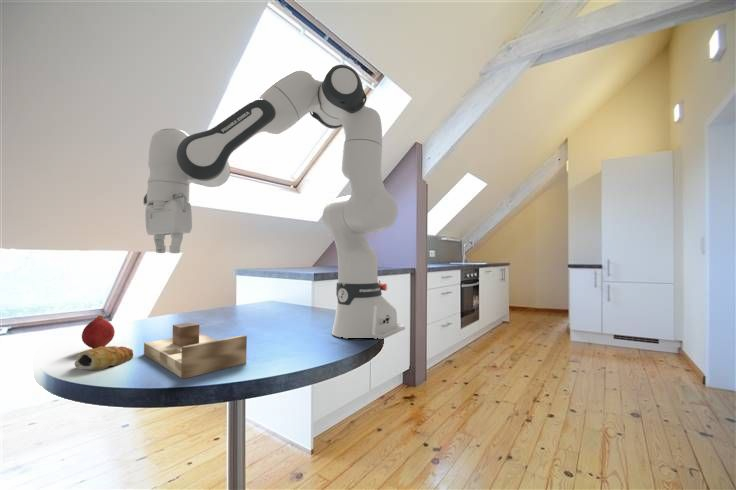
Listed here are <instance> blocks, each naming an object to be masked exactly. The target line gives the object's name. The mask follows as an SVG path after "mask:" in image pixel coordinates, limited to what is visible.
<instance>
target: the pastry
mask: <svg viewBox="0 0 736 490" xmlns="http://www.w3.org/2000/svg"><path fill="white" fill-rule="evenodd" d="M133 358H134V351H133V349H132V348H129V347H127V346H116V345H113V346H111V345H109V346H101V347H98V348H94V349H93V348H89V349H86V350H82V351H80V352H79V354H78V356H77V357H76V359H75V360H74V366H75V367H76V369H78V370H80V369H86V370H85V371H87V370H88V371H99V370H98V369H101V370H103V369H108V367H110V366H112V367H116V366H118V365H120V364H123V363H126V362H129V361H130V360H132V359H133ZM115 365H116V366H115Z"/></svg>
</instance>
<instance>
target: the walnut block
mask: <svg viewBox="0 0 736 490" xmlns="http://www.w3.org/2000/svg"><path fill="white" fill-rule="evenodd" d="M199 334H200V324H198V323H195V322H192V321H190V322H184V323H178V324H172V338H173V341H172V343H173V344H175V345H177V346H179V347H181V346H186V345H191V344H197V343H199Z"/></svg>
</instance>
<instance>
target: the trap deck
mask: <svg viewBox="0 0 736 490" xmlns="http://www.w3.org/2000/svg"><path fill="white" fill-rule="evenodd" d="M247 336H248V335H246V334H242V335H237V336H230V337H227V338H221V339H217V338H213V337H211V336H208V335H205V334H203V333H199V343H197V344H191V345H186V346H181V347H179V346H177V345H175V344H173V343H172V341H173V337H171V338H165V339H159V340H153V341H146V342H143V355H145V356H146V357H148V358H149V359H150V360H152V361H154V362H155V363H158V364H159V365H160V366H162V367H164V368H165V369H166V370H168V371H170V372H172V373H173V374H175V375H176V376H178V377H179V378H180V379H183V380H185V379H188V378H192V377H197V376H199V375H201V376H202V375H205V374H208V373H213V372H216V371H220V370H224V369H228V368H232V367H236V366H240V365H244V364H247V345H248V343H247V339H248V337H247Z"/></svg>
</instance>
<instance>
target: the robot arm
mask: <svg viewBox="0 0 736 490" xmlns="http://www.w3.org/2000/svg"><path fill="white" fill-rule="evenodd" d="M363 87H364V86H363V83H362V79H361V77H360V75H359V73H357V71H356V70H355V69H354V68H353V67H351V66H350V65H347V64H336V65H334V66H332V67H331V68H330V69H328V71H326V73H325V74H324V76H323V77H322V80H321V81H320V80H318V79H316V78H315V77H314V76H313V74H311V73H310V72H309V71H307V70H305V69H301V68H300V69H295V70H293V71H290V72H289V73H287V74H285V75H283V76H281V77H280V78H278V79H277V80H276V81H274V82H273V83H272V84H270V85H269V86H268V87H267V88H265V89H264V90H263V91H262V92H261V93H259V94H258V95H257V96H256V97H255V98H254V99H253V100H251V101H250V102H248V104H246V105H245V106H242V108H240V109H238V110H236V111H235V112H234V113H233V114H231V115H230V116H228V117H227V118H225V119H224V120H222V122H220V123H218V124H217V125H215V126H214V127H212V128H210V129H207V130H204V131H201V132H197V133H196V132H195V133H193V134H190V135H189V134H188V133H187V132H185V131H184V130H181V129H177V128H163V129H160V130H158V131H155V132H154V133H153V135H152V137H151V138H150V143H149V149H148V162H147V163H148V168H149V176H148V179H147V190H146V194H145V195H144V197H143V201H142V205H144V206H146V207H145V209H144V210H145V230H146V234H147V235H148V236H153V240H154V241H153V242H154V245H155V253H156V254H165V253H166V246H165V240H166V236H170V238H171V241H170V242H171V243H170V245H169V250H168V251H169V253H170V254H179V253H180V252H181V245H182V242H183V238H184V235H185V234H190V233H191V231H192V228H193V216H192V206H191V202H190V184H196V185H200V186H203V187H207V188H216V187H219V186H223V185H224V184H225V183H226V182H227V181H228V180H229V178H230V175H231V167H230V163H229V158H230V156H231V155H232V153H234V151H236V150H237V149H238V148H240V147H241V146H243V145H244V144H245V143H246V142H248V141H249V140H250V139H251V138H253V137H255V135H257V134H260V133H263V132H266V133H269V134H272V135H273V134H274V135H279V134H282V133H283V132H285V131H287V130H288V129H291V128H292V127H293V126H294V125H295V124H296V123H297V122H299V120H301V119H302V118H303V117H305V116H306V115H307V114H310V116H311V117H312V118H313V119H315V120H317V121H318V122H319V123H321V125H323V126H324V127H325V128H328V129H333V130H336V129H339V128H341V127H342V128H343V135H344V137H343V145H342V146H343V150H342V160H341V171H342V174H343V176H344V177H345V178H346V179H348V180H349V183H350V188H351V192H350V195H345V196H340V197H337V198H335V199H333V200H332V201H330V202H328V203H326V205H325V207H324V208H323V212H322V221H323V223H324V226H325V227H326V228H327V229H328V230H329V231H330V233H331V235H332V237H333V240H334V244H335V247H336V248H335V249H336V251H337V252H336V254H337V282H336V287H335V288H336V289H335V290H336V291H335V293H336V298H337V302H336V305H335V315H334V321H333V326H332V331H331V335H333V336H334V337H337V338H341V337H343V338H342V339H348V338H374V340H383V339H387V338H388V337H391V336H393V335H396V334H398V333H400V332H402V331H404V330H406V325H404V324H402V323H399V322H398V316H397V315H398V314H397V310H396V308H395V307H394V306H393V305H392V304H391V303H390V302H389V301H388V300H386V299H385V298H384V297H383V294H382V293H383V292H384V291H385V292H386V291H387V290H388V284H387V283H381V282H380V283H379V282H378V277H379V276H378V273H379V272H378V270H379V269H378V266H379V265H378V264H379V263H378V262H379V260H378V255H377V253H376V252H375V250H374V249H373V248H372V247H371V246H370V244H369V241H368V239H367V234H368V233H378V232H381V231H383V230H387V229H388V228H390V227H392V226H394V224H395V223H396V221H397V218H398V212H399V210H398V205H397V204H398V203H397V202H396V199H395V197H394V196H392V194H391V193H389V192H388V191H387V189H386V187H385V184H384V182H383V176H382V156H383V154H382V152H383V151H382V150H383V129H382V128H383V126H382V119H381V116H380V113H379V112H378V111H377V110H376V109H374V108H372V107H368V106H366V105H365V104H366V102H367V100H368V99H367V95H366V93H365V91H364V88H363ZM366 233H367V234H366ZM382 291H383V292H382ZM377 338H378V339H377Z"/></svg>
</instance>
